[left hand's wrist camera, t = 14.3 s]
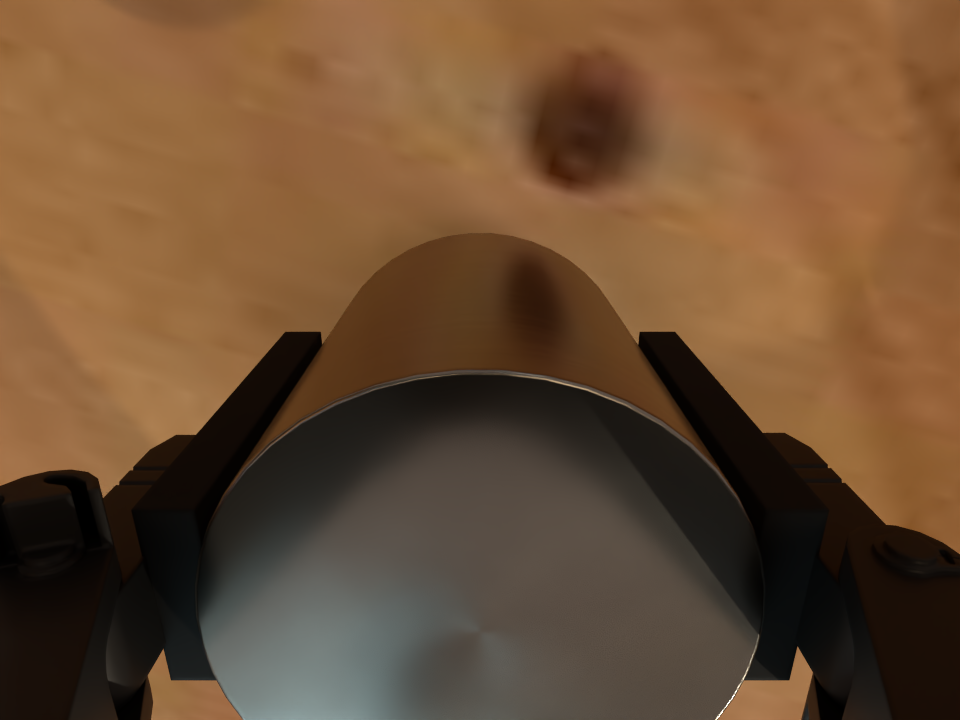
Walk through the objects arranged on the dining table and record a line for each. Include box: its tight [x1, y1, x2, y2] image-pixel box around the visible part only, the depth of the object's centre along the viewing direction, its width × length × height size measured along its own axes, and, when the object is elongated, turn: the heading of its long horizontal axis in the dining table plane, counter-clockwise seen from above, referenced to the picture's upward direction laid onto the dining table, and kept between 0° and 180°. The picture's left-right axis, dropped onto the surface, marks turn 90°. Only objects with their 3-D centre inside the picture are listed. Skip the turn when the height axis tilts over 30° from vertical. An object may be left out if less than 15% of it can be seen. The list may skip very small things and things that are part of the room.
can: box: [195, 233, 766, 720], centre depth 11 cm, size 7×7×8 cm
